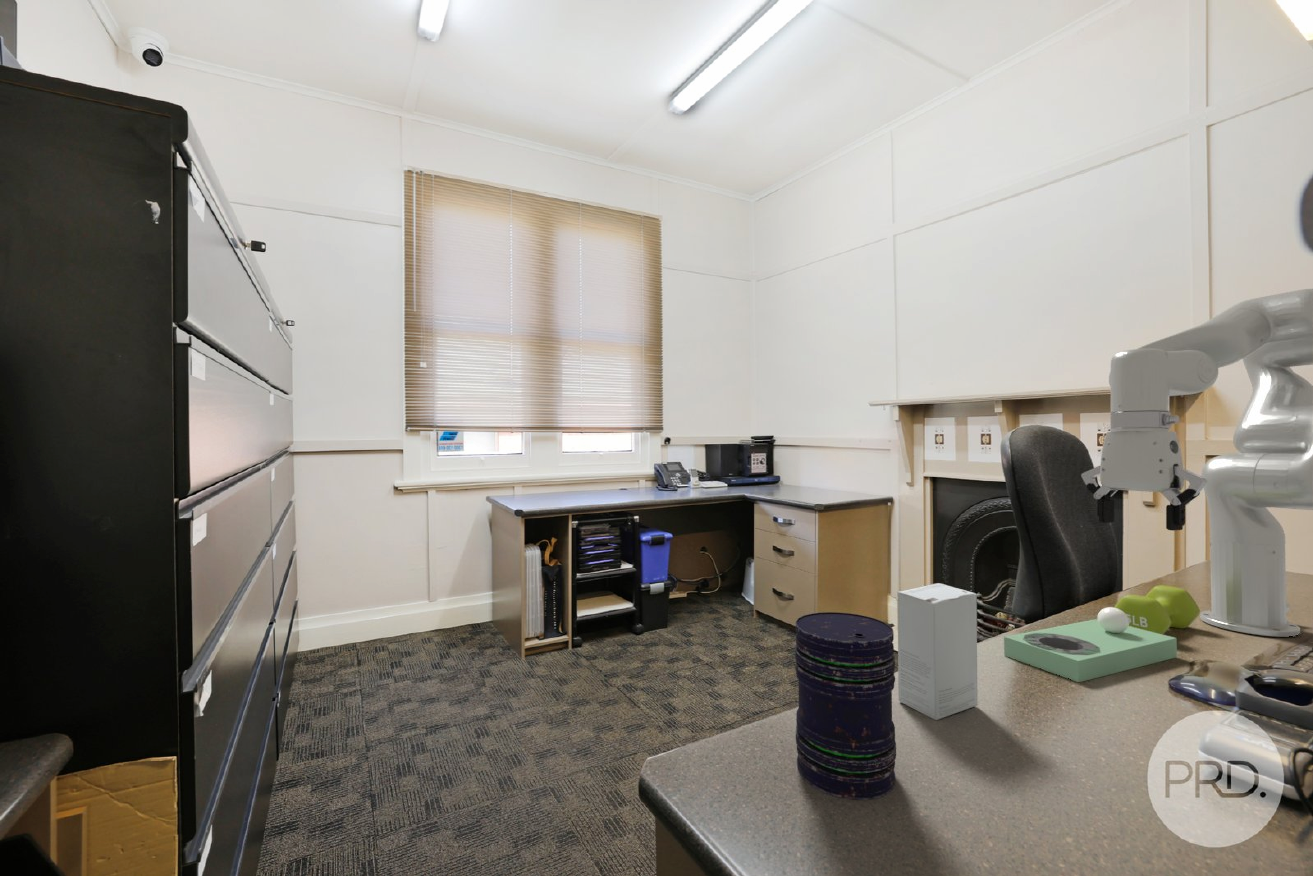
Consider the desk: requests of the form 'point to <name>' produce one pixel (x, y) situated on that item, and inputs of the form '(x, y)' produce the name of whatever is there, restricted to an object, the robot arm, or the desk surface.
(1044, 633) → the putting mat
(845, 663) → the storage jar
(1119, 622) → the white egg
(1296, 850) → the desk surface
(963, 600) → the skincare box
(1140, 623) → the dumbbell
